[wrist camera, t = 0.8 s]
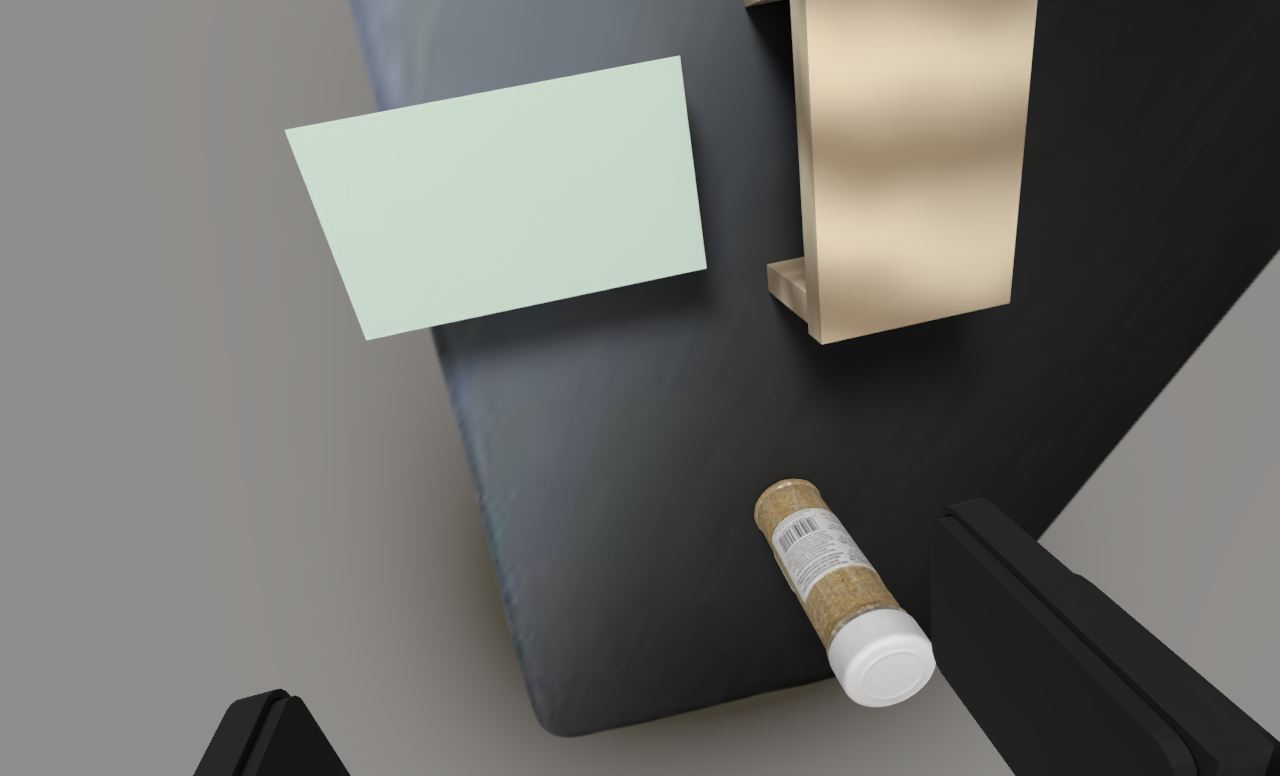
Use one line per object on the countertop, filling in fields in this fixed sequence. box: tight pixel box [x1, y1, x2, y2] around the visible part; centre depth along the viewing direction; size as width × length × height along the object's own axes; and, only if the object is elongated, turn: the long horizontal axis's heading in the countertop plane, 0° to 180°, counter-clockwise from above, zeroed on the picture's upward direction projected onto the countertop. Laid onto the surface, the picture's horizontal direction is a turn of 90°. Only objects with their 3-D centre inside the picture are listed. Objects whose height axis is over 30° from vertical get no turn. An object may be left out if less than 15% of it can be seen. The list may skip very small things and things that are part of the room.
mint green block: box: [285, 56, 707, 340], centre depth 29 cm, size 9×16×4 cm, turn 100°
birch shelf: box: [745, 0, 1037, 344], centre depth 28 cm, size 16×9×7 cm, turn 10°
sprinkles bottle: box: [754, 479, 936, 707], centre depth 35 cm, size 5×5×14 cm
